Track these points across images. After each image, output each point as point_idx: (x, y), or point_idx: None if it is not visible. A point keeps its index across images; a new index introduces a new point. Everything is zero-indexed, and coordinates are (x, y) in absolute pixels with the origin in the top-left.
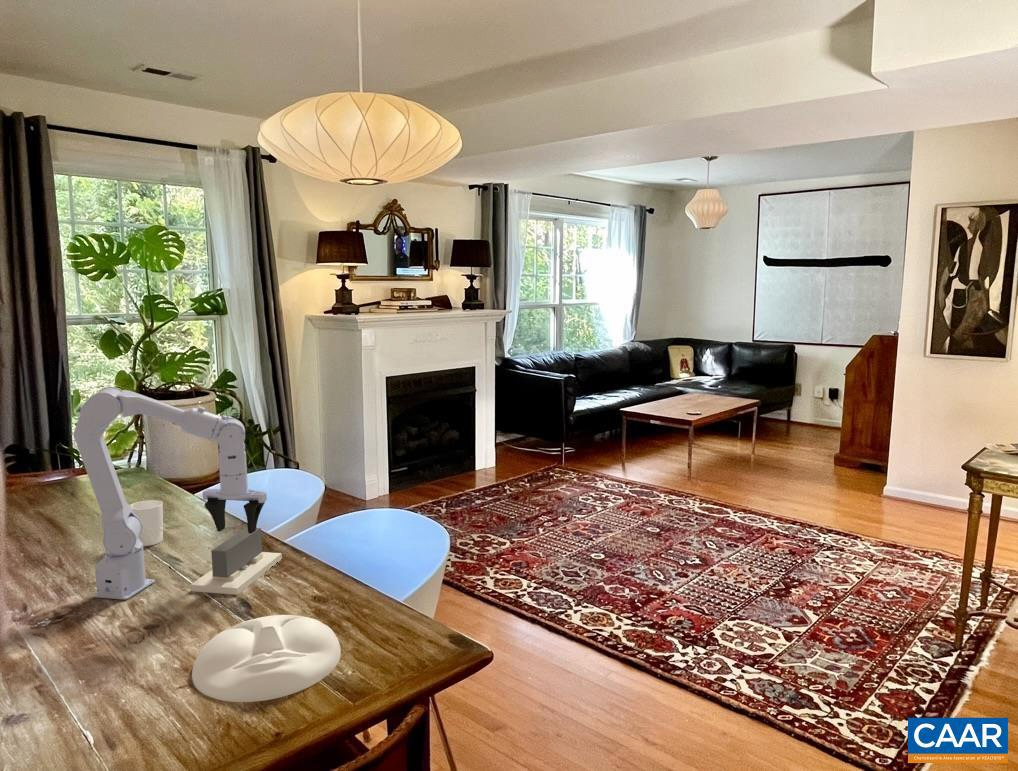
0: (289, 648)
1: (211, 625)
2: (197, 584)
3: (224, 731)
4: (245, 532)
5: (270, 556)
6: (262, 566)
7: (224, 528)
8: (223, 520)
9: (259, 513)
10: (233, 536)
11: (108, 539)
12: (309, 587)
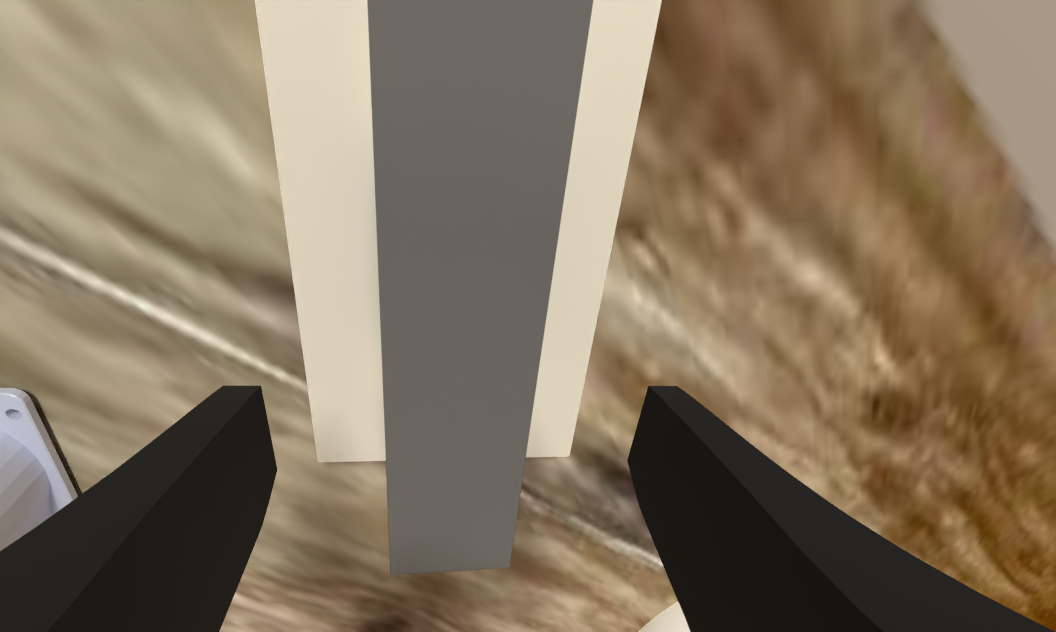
0: None
1: (566, 592)
2: (353, 456)
3: None
4: (455, 181)
5: (603, 5)
6: (603, 208)
7: (259, 391)
8: (211, 487)
9: (871, 542)
10: (384, 315)
11: None
12: (856, 331)
